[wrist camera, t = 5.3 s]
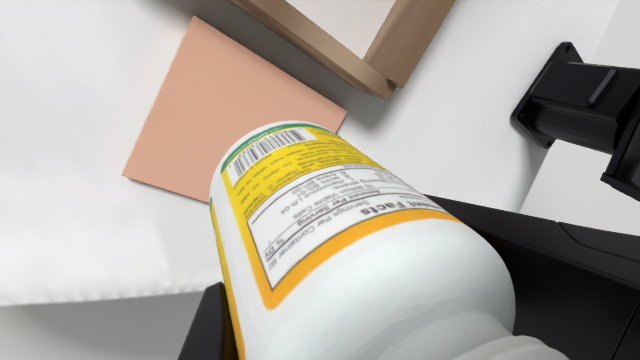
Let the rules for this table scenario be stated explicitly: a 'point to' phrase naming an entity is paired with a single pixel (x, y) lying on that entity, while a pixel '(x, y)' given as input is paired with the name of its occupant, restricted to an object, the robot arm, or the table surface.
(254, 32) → the table surface
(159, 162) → the terracotta tile
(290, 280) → the supplement bottle
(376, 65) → the brown wooden tray
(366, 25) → the table surface
